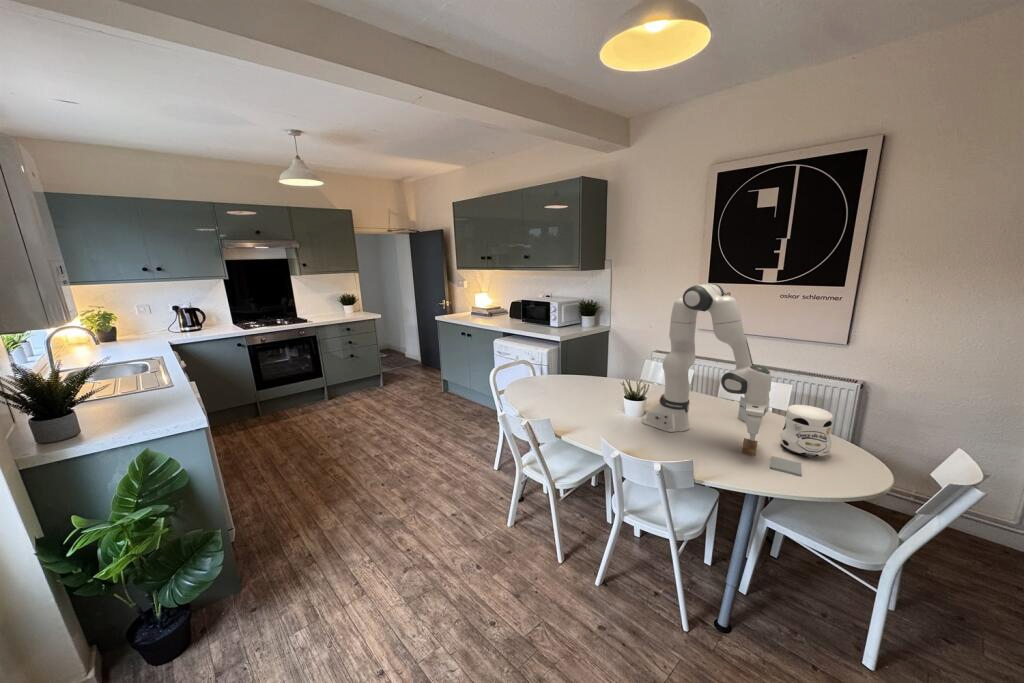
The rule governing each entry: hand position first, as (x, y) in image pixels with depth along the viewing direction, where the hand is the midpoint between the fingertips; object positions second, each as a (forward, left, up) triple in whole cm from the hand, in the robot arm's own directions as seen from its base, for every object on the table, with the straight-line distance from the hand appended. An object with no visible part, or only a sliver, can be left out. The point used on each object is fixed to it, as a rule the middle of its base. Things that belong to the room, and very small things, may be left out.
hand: (753, 435), depth 162 cm
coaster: (+12, -5, -8) cm, 15 cm away
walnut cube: (-1, 0, -8) cm, 8 cm away
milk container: (+18, +15, -8) cm, 25 cm away
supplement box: (-4, +37, -8) cm, 38 cm away
